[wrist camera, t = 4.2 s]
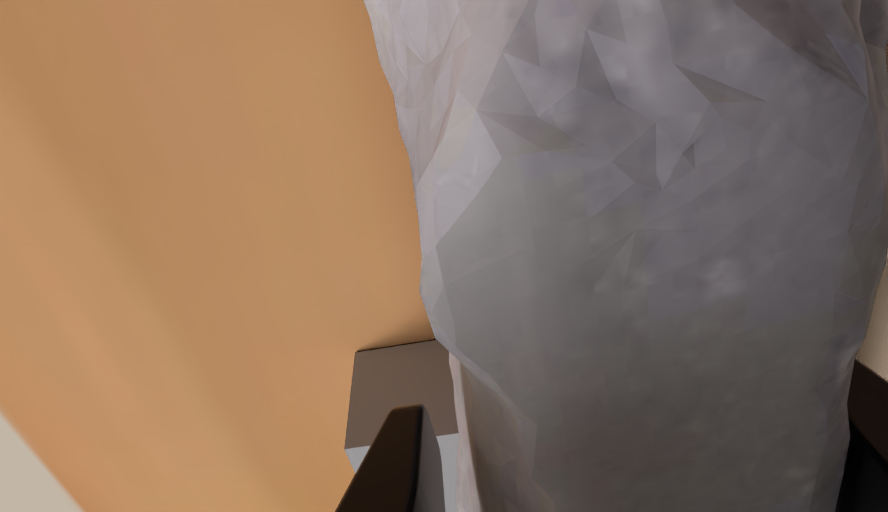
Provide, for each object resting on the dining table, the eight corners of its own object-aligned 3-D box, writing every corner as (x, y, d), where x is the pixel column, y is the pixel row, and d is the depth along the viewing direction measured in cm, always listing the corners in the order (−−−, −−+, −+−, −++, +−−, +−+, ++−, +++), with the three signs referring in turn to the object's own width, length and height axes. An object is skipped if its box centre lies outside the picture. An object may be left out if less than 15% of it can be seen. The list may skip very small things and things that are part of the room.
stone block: (684, 308, 18) (819, 804, 11) (484, 326, 19) (473, 801, 11) (701, -296, 11) (1165, -112, 3) (375, -231, 12) (142, 41, 4)
